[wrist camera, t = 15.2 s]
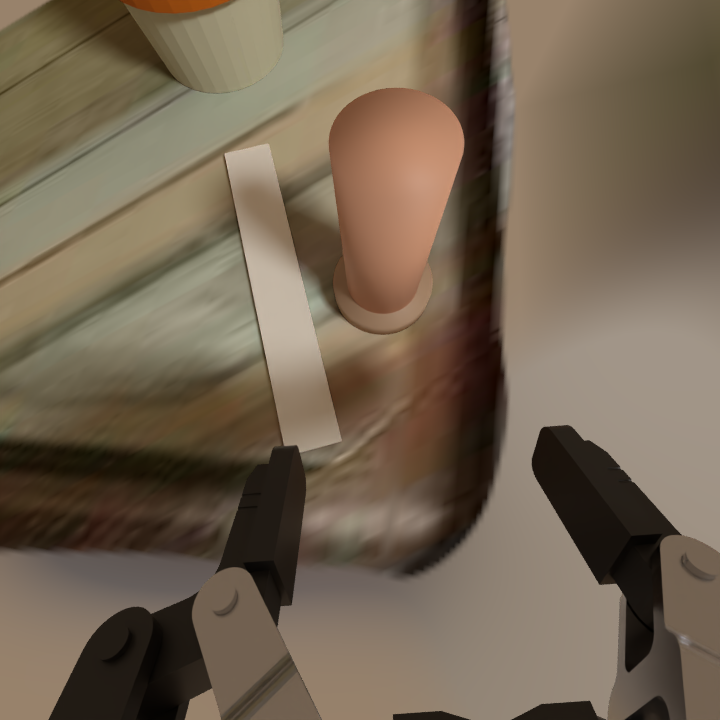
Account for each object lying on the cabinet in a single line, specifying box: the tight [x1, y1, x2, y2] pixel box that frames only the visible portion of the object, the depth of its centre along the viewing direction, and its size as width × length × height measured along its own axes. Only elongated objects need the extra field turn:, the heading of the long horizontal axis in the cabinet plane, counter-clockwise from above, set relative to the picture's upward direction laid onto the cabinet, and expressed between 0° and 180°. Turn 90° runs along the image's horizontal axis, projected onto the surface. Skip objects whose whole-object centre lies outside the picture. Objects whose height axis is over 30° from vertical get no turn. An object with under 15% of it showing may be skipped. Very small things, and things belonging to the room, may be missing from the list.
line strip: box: [225, 143, 342, 453], centre depth 19 cm, size 3×20×1 cm, turn 15°
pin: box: [329, 88, 464, 335], centre depth 14 cm, size 6×6×10 cm
